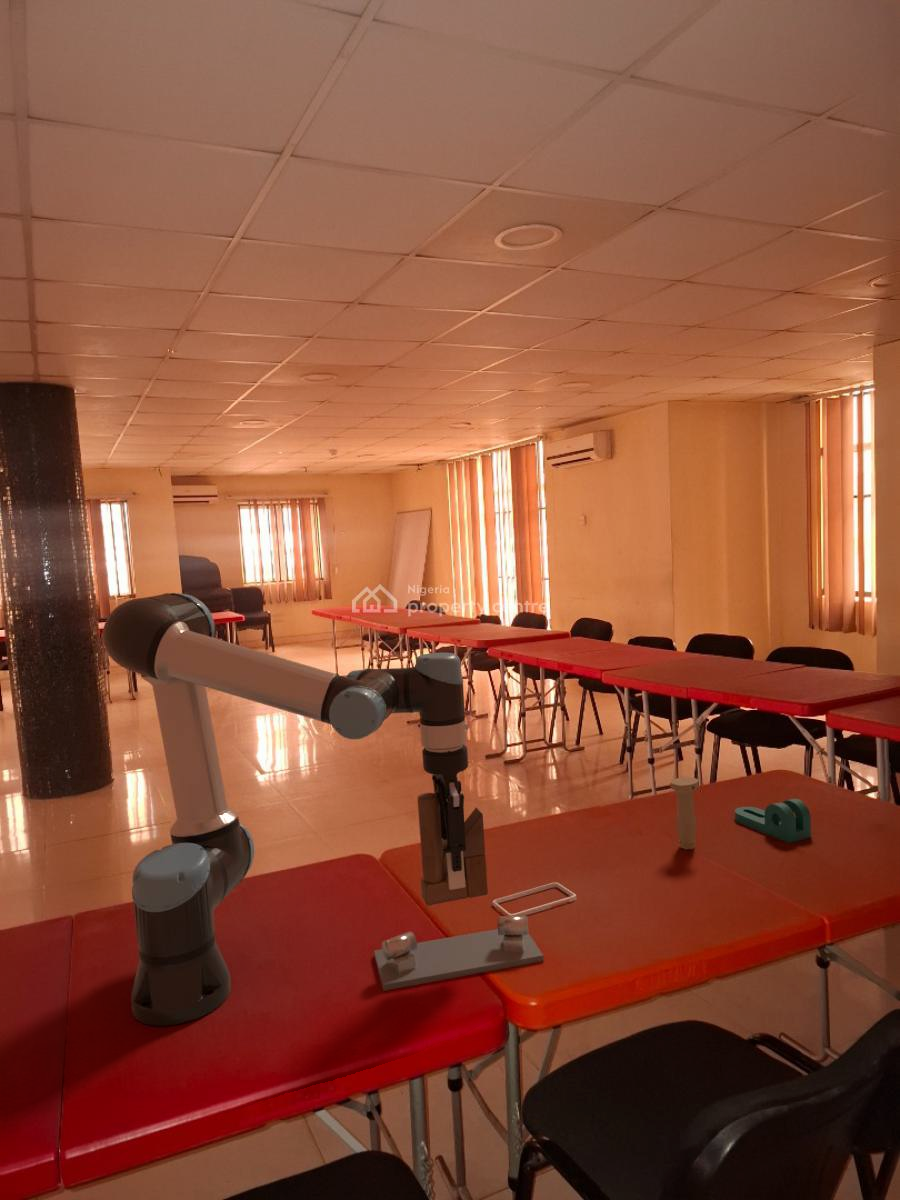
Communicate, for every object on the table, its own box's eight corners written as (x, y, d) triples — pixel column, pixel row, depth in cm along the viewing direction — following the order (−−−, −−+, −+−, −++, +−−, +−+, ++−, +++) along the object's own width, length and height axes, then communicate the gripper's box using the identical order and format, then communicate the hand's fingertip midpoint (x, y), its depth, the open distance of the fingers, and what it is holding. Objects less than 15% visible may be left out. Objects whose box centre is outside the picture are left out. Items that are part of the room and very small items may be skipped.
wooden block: (488, 895, 132) (481, 791, 130) (426, 907, 129) (418, 800, 128) (482, 886, 135) (475, 784, 134) (421, 897, 133) (414, 794, 131)
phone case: (556, 887, 158) (491, 907, 152) (556, 881, 158) (491, 900, 152) (577, 902, 152) (511, 922, 145) (577, 895, 152) (510, 915, 145)
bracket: (811, 837, 175) (810, 803, 174) (789, 844, 172) (788, 809, 172) (749, 813, 191) (748, 782, 191) (728, 819, 189) (727, 787, 188)
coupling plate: (383, 990, 125) (382, 984, 125) (374, 955, 136) (374, 950, 136) (543, 961, 131) (543, 955, 131) (523, 929, 141) (522, 924, 141)
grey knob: (498, 952, 133) (497, 923, 132) (500, 938, 137) (498, 911, 136) (528, 952, 132) (526, 923, 131) (528, 938, 136) (527, 911, 136)
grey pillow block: (394, 976, 127) (391, 947, 127) (381, 965, 131) (379, 936, 130) (420, 966, 130) (418, 937, 129) (407, 955, 133) (405, 926, 133)
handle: (705, 847, 173) (703, 780, 172) (685, 854, 170) (682, 787, 168) (689, 840, 177) (686, 775, 176) (668, 847, 174) (665, 781, 173)
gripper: (479, 756, 123) (488, 900, 125) (454, 732, 139) (463, 859, 141) (432, 762, 121) (442, 907, 123) (413, 737, 138) (422, 866, 139)
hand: (454, 881), depth 132 cm, fingers closed on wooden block, 4 cm apart
